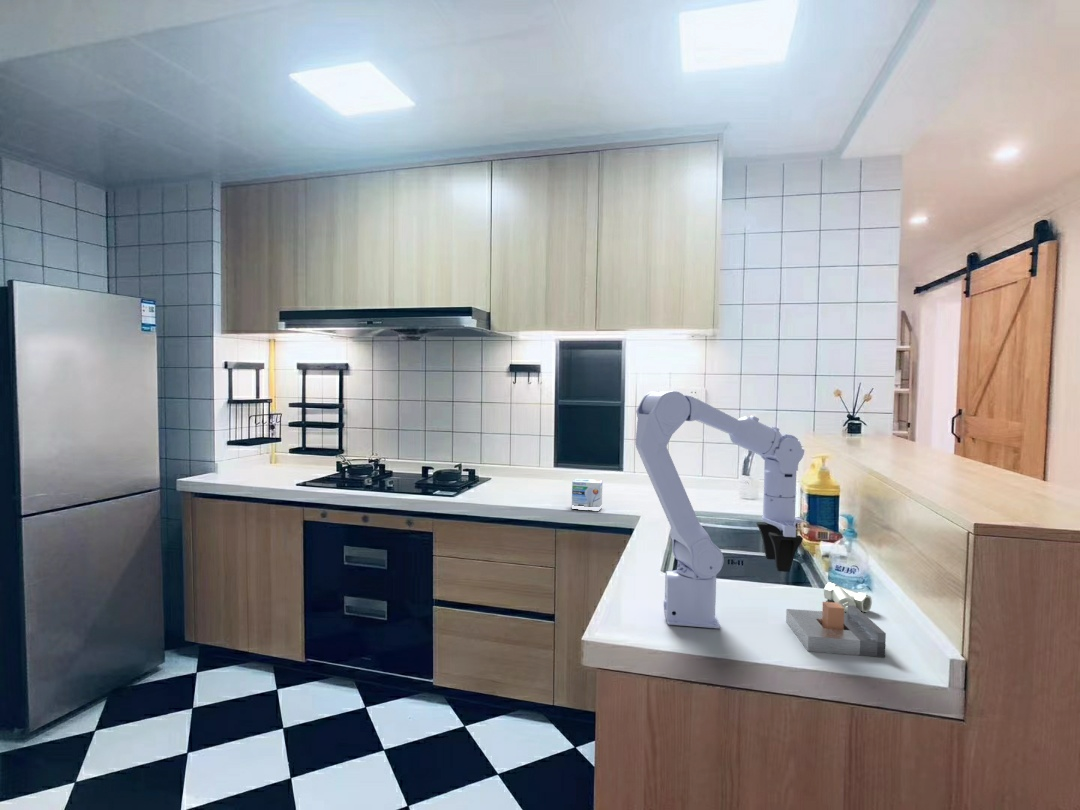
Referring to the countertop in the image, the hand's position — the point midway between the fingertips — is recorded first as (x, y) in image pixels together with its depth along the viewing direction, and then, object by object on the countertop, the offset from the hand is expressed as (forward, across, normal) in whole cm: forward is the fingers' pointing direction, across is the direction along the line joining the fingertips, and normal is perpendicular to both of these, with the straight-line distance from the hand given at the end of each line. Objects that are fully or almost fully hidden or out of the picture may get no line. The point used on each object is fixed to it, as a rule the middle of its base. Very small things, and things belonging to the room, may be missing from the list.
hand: (777, 564), depth 107 cm
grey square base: (+10, -9, -7) cm, 15 cm away
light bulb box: (+10, +91, +42) cm, 101 cm away
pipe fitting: (+10, +7, -15) cm, 19 cm away
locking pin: (+10, -9, -7) cm, 15 cm away
